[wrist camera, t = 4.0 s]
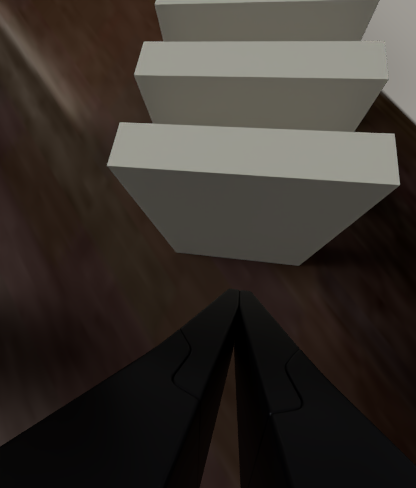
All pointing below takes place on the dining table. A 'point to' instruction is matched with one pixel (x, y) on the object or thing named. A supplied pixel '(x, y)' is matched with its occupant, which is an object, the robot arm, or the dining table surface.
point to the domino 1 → (252, 185)
